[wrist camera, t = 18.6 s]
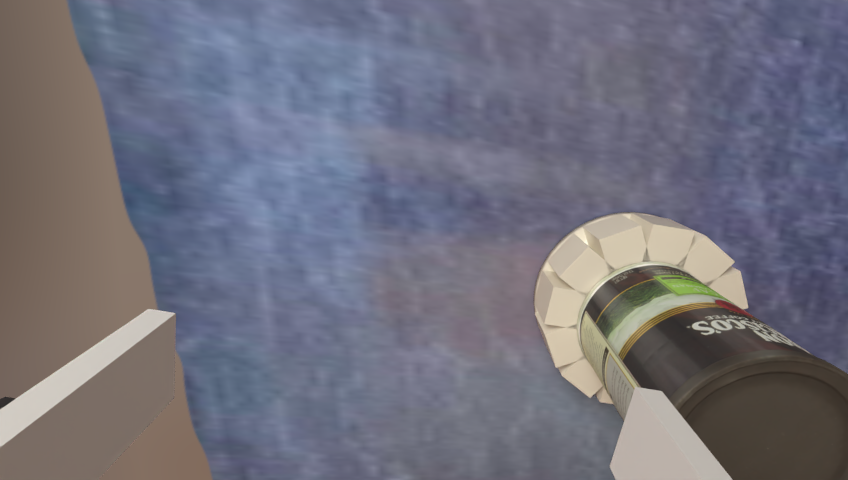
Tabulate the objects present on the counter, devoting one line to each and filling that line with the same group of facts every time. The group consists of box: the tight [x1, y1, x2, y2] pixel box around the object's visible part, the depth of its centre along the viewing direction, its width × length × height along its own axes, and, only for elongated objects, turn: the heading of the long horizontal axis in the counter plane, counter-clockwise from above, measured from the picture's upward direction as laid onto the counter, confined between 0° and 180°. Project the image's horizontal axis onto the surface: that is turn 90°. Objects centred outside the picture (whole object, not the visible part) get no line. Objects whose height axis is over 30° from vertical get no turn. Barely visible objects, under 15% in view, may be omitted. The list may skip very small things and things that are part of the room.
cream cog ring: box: [534, 212, 748, 404], centre depth 38 cm, size 15×15×5 cm
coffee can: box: [577, 262, 848, 480], centre depth 29 cm, size 10×10×14 cm
